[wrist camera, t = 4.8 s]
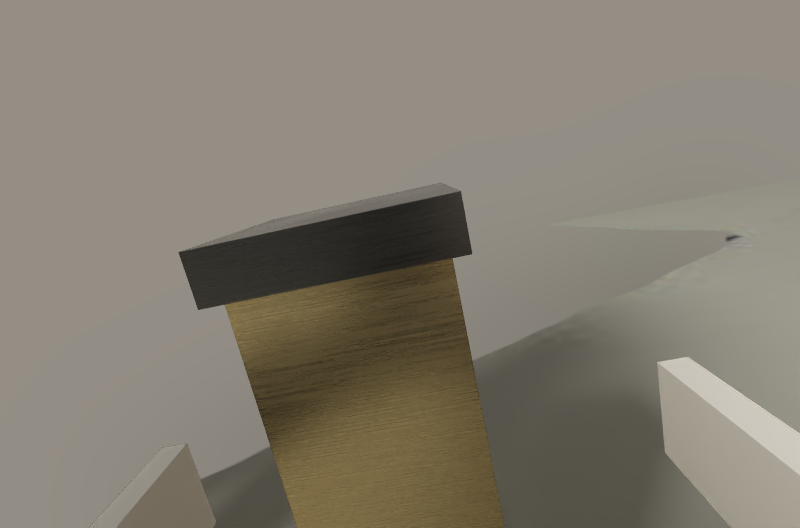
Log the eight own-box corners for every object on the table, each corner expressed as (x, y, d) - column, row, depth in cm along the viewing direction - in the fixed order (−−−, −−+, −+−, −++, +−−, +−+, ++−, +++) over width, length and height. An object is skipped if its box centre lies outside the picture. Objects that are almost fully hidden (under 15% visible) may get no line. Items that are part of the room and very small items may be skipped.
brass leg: (374, 827, 9) (178, 251, 7) (386, 617, 14) (274, 219, 11) (573, 809, 9) (461, 191, 6) (520, 599, 14) (441, 182, 11)
